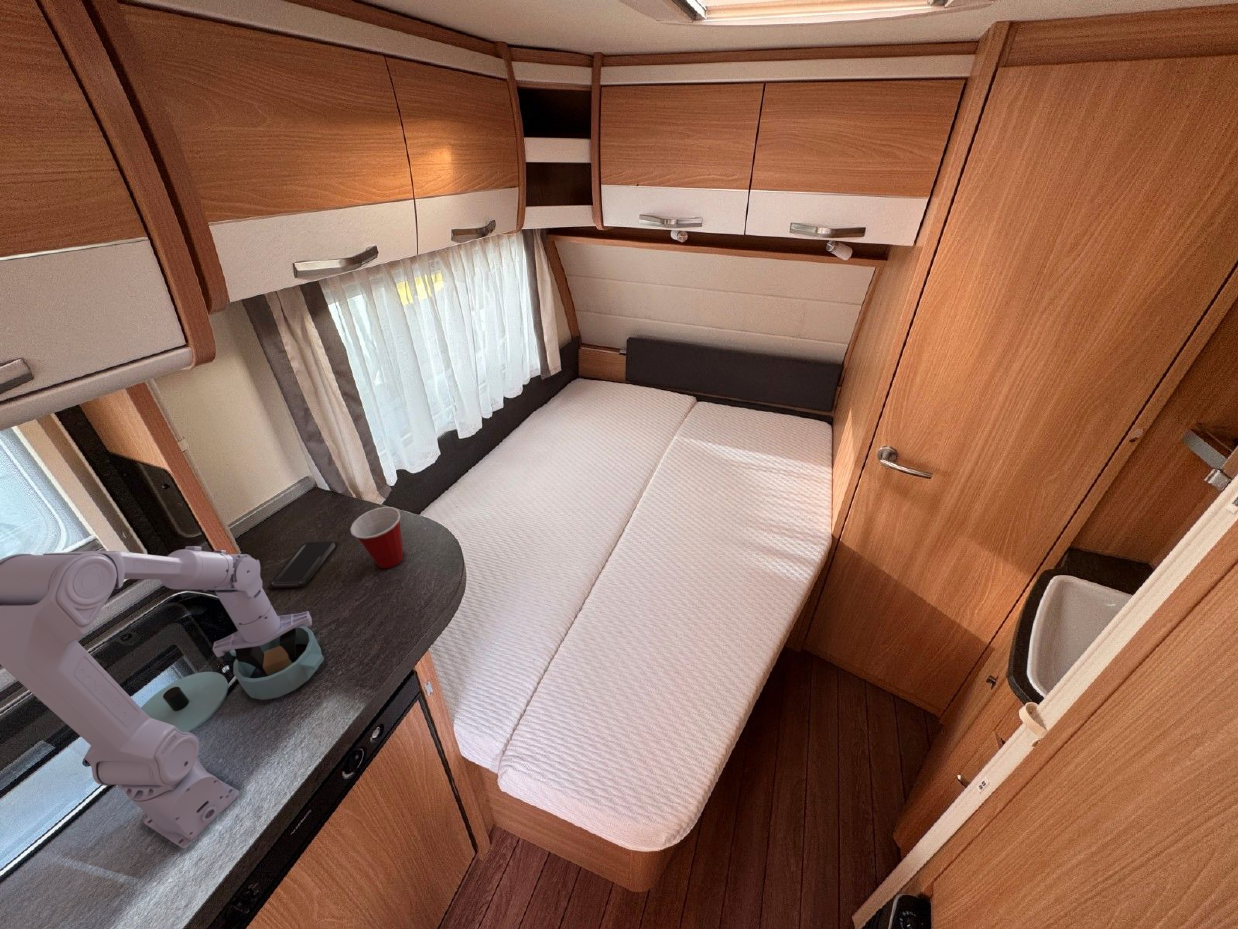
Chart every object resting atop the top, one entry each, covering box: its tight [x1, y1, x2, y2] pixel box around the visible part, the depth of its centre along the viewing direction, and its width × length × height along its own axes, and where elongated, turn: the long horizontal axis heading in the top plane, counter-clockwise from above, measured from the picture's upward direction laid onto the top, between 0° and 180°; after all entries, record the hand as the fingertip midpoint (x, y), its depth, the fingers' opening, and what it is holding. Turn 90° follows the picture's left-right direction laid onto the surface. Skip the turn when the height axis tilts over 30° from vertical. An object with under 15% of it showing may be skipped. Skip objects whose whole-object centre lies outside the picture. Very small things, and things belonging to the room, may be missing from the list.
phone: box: [270, 540, 336, 589], centre depth 121 cm, size 8×1×15 cm
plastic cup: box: [350, 506, 404, 569], centre depth 118 cm, size 11×11×12 cm
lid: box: [140, 671, 229, 733], centre depth 88 cm, size 14×14×4 cm
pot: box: [229, 626, 325, 701], centre depth 94 cm, size 13×18×5 cm
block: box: [263, 646, 293, 676], centre depth 94 cm, size 4×4×4 cm
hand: (281, 664), depth 94 cm, fingers closed on block, 4 cm apart
